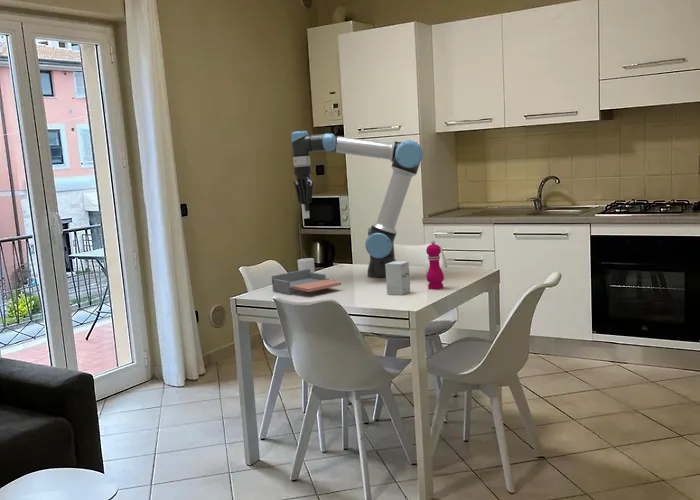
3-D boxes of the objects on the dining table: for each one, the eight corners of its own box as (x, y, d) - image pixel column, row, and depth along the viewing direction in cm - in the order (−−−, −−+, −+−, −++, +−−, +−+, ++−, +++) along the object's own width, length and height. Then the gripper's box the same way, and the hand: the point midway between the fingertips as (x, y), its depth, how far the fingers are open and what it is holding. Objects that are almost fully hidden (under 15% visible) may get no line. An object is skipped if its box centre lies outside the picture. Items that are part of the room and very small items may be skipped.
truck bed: (271, 291, 311) (270, 276, 310) (310, 283, 324) (309, 268, 323) (290, 295, 299) (288, 279, 298) (329, 286, 312) (328, 271, 311)
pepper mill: (446, 286, 293) (443, 238, 290) (442, 289, 286) (439, 241, 284) (429, 286, 295) (426, 239, 293) (425, 290, 289) (422, 241, 286)
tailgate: (292, 286, 301) (308, 289, 291) (324, 279, 311) (341, 282, 301) (292, 290, 301) (308, 293, 291) (325, 283, 311) (341, 286, 301)
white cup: (313, 281, 329) (311, 260, 328) (297, 282, 331) (295, 261, 329) (317, 278, 337) (315, 257, 335) (301, 279, 338) (299, 258, 337)
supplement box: (402, 295, 282) (400, 264, 280) (386, 294, 286) (384, 263, 284) (411, 291, 288) (409, 261, 287) (395, 290, 292) (393, 260, 290)
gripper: (287, 167, 319) (291, 218, 322) (303, 166, 309) (307, 219, 312) (300, 166, 324) (305, 216, 327) (317, 164, 313) (321, 217, 316)
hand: (306, 218), depth 319 cm, fingers closed
